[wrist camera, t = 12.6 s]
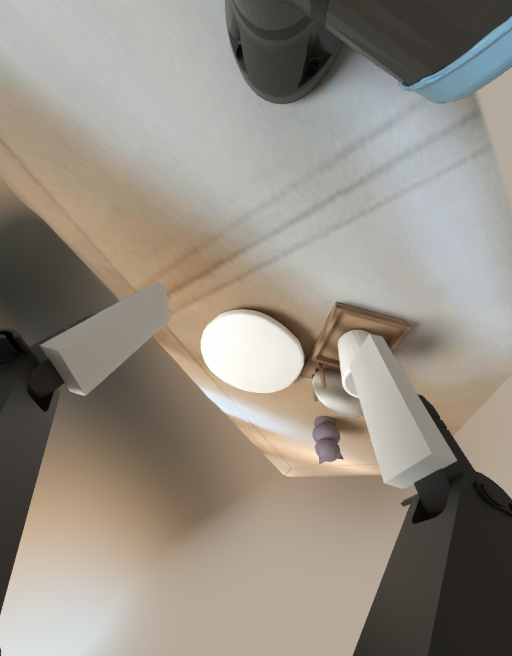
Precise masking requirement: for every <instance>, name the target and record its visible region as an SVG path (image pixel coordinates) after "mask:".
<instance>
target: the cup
mask: <svg viewBox="0 0 512 656" xmlns="http://www.w3.org/2000/svg"><path fill="white" fill-rule="evenodd" d="M369 334H370V333H369V332H367V331H364V330H362V329H356V330H351V331H349V332H345V333H343V334H342V335H341V337H340V339H339V340H338V352H339V360H340V369H341V377H342V384H343V388H344V389H345V391H346V392H347V393H348V394H349V395H352V396H354V397H356V398H359V397H358V393H357V390H356V386H355V383H354V380H353V376H352V373H351V370H350V366H349V365H350V363H351V362H352V360H353V359H354V357H355V356H356V354H357V352H358V351H359V349H360V348H361V346H362V344H363V343H364V341H365V340H366V338H367V337H368V335H369Z"/></svg>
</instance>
